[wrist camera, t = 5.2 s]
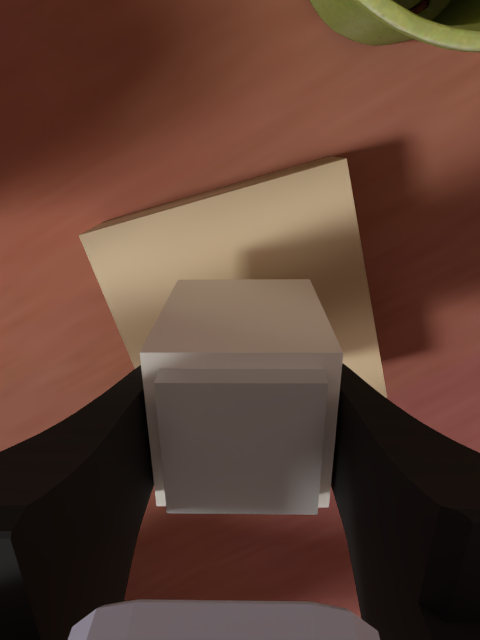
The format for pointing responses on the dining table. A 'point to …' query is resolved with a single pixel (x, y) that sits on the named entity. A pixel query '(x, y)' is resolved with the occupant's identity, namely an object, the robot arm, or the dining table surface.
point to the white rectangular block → (242, 398)
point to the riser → (245, 253)
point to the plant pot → (405, 22)
